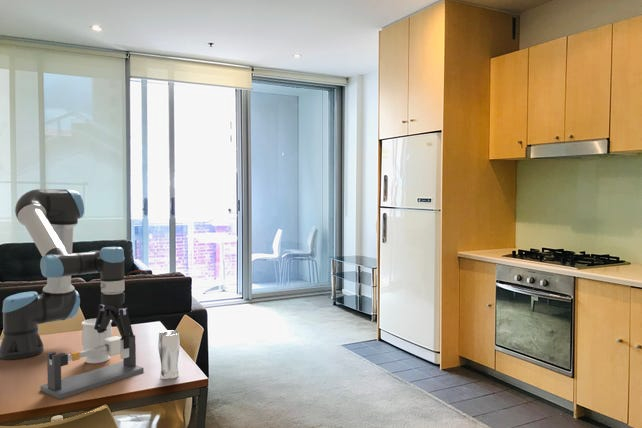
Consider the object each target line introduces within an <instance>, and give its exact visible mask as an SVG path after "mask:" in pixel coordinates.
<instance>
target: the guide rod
mask: <svg viewBox="0 0 642 428" xmlns="http://www.w3.org/2000/svg"><path fill="white" fill-rule="evenodd" d="M108 350H109V345H108V344H107V345H103V346H99V347H95V348H92V349H88V350H84V349H83V350H81V351H76V350H75V351H72V352H69V354H68V353H65V352H60V353H58V354H61V367H64V366H67V365H69V362H71V361H72V362H74V361H79V360H80V359H81V358H86V356H89V355H93V354H97V353H100V352H104V351H108ZM49 363H50V365H52V359H49Z"/></svg>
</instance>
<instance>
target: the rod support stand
mask: <svg viewBox="0 0 642 428" xmlns="http://www.w3.org/2000/svg"><path fill="white" fill-rule="evenodd" d="M133 335H134V336H133V337H131V338H129V357H127V358H124V359H122V360H123V361H120V362H116V363H113V364H109V365H107V366H102V367H100V368H96V369H92V370H89V371H86V372H83V373H80V374H76V375H75V374H74V375H72V376H69V377H66V378H62V366H61V354H59V353H56V351H52V352H48V353H46V354H47V355H46V356H47V361H46V362H47V363H46V365H47V366H46V367H47V369H46V370H47V383H45V384H42V385H40V386H39V389H40V390H39V391H41V392H43V393H45V394H47V395H49V396H51V397H53V398H56V399H58V400H62V399H65V398H67V397H72V396H74V395H77V394H81V393H83V392H86V391H90V390H93V389H97V388H98V387H103V386H105V385H108V384H110V383H114V382H118V381H121V380H123V379H126V378H130V377H133V376H136V375H139V374H142V373H144V368H145V367H143V366H140V365H137V361H136V360H137V357H136V356H137V352H136V349H137V348H136V344H137V343H136V334H133ZM124 336H125V335H124ZM49 359H52V365H50V363H49Z"/></svg>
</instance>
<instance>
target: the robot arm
mask: <svg viewBox="0 0 642 428" xmlns="http://www.w3.org/2000/svg"><path fill="white" fill-rule="evenodd" d="M14 208H15V209H14V213H15V217H16V219H17V221H18V222H19V224H20V225H23V226H24V227H25V228H26V230H27V232H28V233H29V235H30V237H31V239H32V241H33V242H34V244H35V246H36V249H38V251H39V253H40V255H41V256H42V257H41V258H40V262H39V267H40V271H41V275H42V276H43V277H44V278H46V280H47V281H46V285H45V286H43V288H42V293H40V294H38V292H37V291H34V290H33V291H24V292H19V293H16V294H12V295H9V296H7V297H5V298H4V299H3V301H2V310H1V312H2V328H3V330H2V331H3V335H2V336H3V337H2V340H1V342H0V359H1V360H19V359H25V358H31V357H35V356H38V355H40V354H42V353H43V352H44V346H45V345H44V343H43V340H42V338H41V336H40V334H39V325H41V324H48V323H53V322H58V321H59V322H60V321H65V320H68V319H72V318H74V317H75V316H76V315H77V313H78V312H79V309H80V304H81V298H80V293H79V292H78V291H77V290H76V289H75V286H74V285H72V276H77V275H78V276H80V275H87V274H97V273H98V274H100V285H99V286H100V293H101V294H100V304H99V305H98V313H97V315H96V316H97V317H96V318H97V319H96V323H95V327H94V329H95V330H97V332H98V333H99V346H103V339H105V338H107V332H104V331H107V329H106V328H107V326H108V324H109V322H110V320H112V323H114V324H115V325H116V329H117V330H118V332H119V334H120V337H122V338H121V339H120V353H121V354H120V359H121V360H123V359H124V358H127V357H129V338H131V337H133V336H134V335H135V334H134V332H133V328H132V327H133V326H132V324H131V320H130V317H129V309H128V308H127V307H126V308H123V306H122V305H123V304H125V302H126V301H125V298H126V297H125V295H126V293H125V292H124V291H125V290H126V289H125V287H126V285H125V258H126V257H125V252H124V251H125V250H124V248H123V247H121V246H105V247H101V249H100V250H98V249H96V250H90V251H84V252H73V239H74V238H73V237H74V227H76V226H77V225H78V222H79V221H78V220H79V219H82V218H83V217H84V214H85V205H84V200H83V197H82V196H81V194H80V192H79V191H77V190H74V189H65V188H64V189H48V188H47V189H41V188H40V189H39V188H37V189H32V190H28V191H27V192H25V193H24V194H22V195H21V196H20V198H19V199H18V200H17V202H16V204H15V207H14ZM98 325H99V326H98ZM124 335H125V336H124Z"/></svg>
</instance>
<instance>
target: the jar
mask: <svg viewBox="0 0 642 428" xmlns="http://www.w3.org/2000/svg"><path fill="white" fill-rule="evenodd" d="M96 319H97V317H95V318H89V319H88V318H87V319H85V320H83V321H81V326H82V327H83V328H82V332H81V343H82V344H81V345H82V347H83V348H82V349H83V351H84V350H88V349H92V348H95V347H99V333H98V332H97V330H95V329H94V327H95V323H96ZM112 323H113V320H110V322H109V324H108V326H107V328H106V329H107V331H104V332H107V338H109V337H113V327H112ZM98 326H99V325H98ZM110 358H111V356H109V355H106V354H103V352H100V353H97V354H93V355H89V356H85V363H87V364H92V365H93V364H103V363H105V362H107V361H109V360H110Z"/></svg>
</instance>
